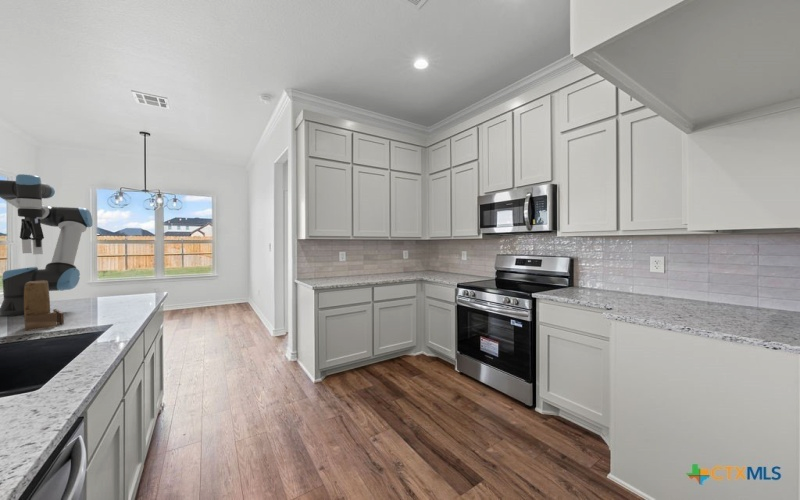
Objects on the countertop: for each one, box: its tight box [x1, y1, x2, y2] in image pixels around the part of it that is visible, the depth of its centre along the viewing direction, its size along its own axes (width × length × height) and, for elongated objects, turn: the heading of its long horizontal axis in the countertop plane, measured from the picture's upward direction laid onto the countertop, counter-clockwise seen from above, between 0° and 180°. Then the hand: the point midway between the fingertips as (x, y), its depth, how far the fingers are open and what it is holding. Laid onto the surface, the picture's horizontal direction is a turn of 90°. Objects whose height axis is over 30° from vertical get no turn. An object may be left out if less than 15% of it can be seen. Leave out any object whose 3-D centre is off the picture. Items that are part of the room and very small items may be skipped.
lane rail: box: [52, 308, 65, 325], centre depth 146 cm, size 14×1×5 cm, turn 57°
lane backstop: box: [24, 312, 58, 332], centre depth 136 cm, size 1×9×6 cm, turn 147°
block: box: [23, 280, 51, 319], centre depth 139 cm, size 11×8×20 cm
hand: (32, 253), depth 148 cm, fingers open, 13 cm apart
